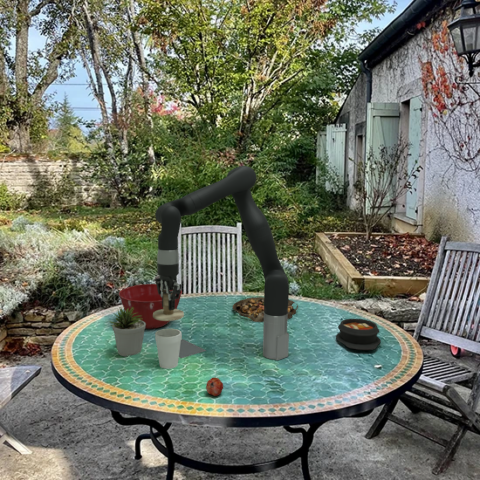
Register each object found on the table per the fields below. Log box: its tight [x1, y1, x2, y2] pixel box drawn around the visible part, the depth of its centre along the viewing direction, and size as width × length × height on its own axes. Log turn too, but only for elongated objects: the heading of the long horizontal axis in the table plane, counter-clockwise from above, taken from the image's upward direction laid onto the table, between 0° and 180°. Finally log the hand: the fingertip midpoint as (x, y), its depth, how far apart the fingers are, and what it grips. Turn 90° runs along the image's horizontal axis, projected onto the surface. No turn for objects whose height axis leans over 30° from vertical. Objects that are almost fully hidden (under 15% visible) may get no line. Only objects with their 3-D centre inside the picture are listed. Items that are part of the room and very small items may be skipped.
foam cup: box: [154, 328, 183, 370], centre depth 175 cm, size 10×9×13 cm
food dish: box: [232, 296, 299, 323], centre depth 243 cm, size 35×33×8 cm
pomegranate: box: [205, 376, 224, 397], centre depth 156 cm, size 6×6×8 cm
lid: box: [153, 293, 185, 322], centre depth 172 cm, size 11×11×8 cm
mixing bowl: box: [118, 283, 183, 330], centre depth 221 cm, size 28×28×16 cm
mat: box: [179, 338, 207, 359], centre depth 192 cm, size 16×12×1 cm
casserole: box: [335, 318, 382, 351], centre depth 203 cm, size 25×19×8 cm
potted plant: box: [108, 307, 146, 357], centre depth 187 cm, size 13×14×20 cm
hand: (168, 308), depth 173 cm, fingers closed on lid, 3 cm apart
